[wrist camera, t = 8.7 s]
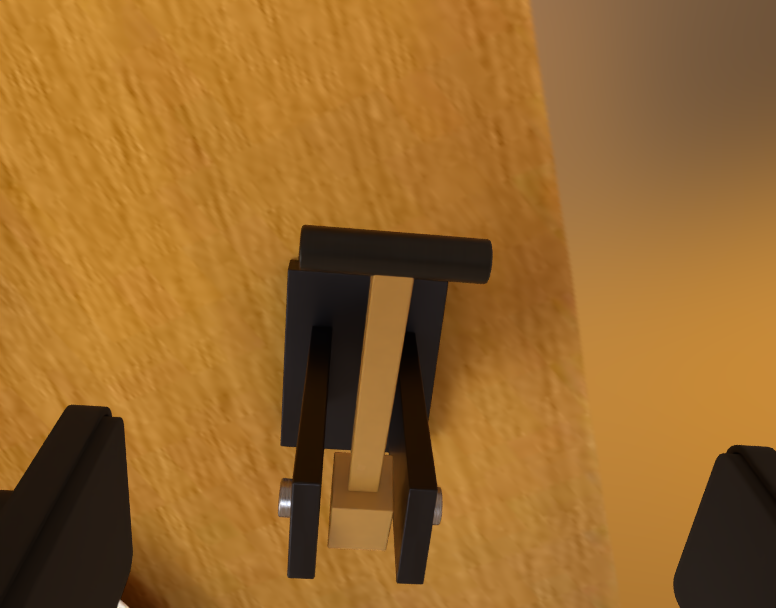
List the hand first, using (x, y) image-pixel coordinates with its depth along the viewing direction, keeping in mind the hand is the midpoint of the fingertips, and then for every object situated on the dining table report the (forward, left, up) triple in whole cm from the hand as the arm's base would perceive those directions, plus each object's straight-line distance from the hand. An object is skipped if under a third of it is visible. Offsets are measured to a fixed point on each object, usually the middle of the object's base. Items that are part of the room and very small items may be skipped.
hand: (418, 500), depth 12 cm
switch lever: (+4, +4, -12) cm, 13 cm away
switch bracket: (+8, +8, -24) cm, 26 cm away
